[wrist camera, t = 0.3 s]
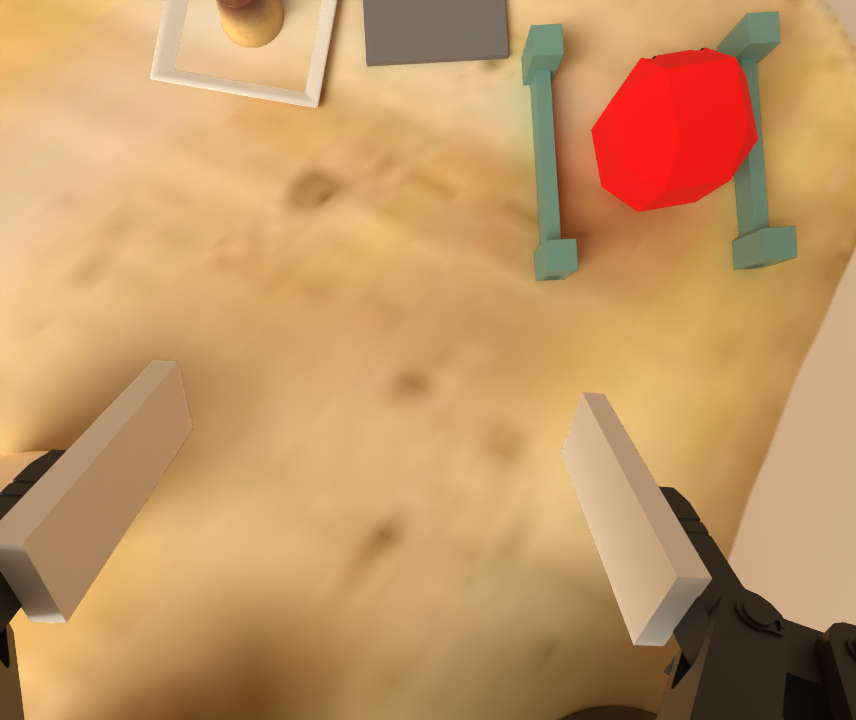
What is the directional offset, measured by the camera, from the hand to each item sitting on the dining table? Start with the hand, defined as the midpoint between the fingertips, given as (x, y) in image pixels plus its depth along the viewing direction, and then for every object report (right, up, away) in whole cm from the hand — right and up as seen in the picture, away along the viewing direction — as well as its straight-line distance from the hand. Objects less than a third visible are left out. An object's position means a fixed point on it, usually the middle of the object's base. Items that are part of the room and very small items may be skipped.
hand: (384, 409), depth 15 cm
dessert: (-11, +26, +18) cm, 34 cm away
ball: (+17, +16, +17) cm, 29 cm away
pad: (+2, +28, +17) cm, 33 cm away
